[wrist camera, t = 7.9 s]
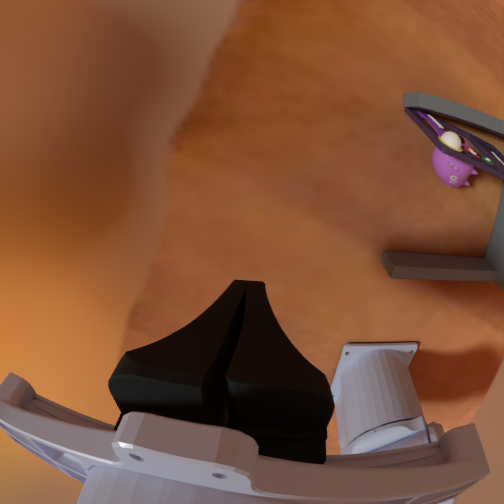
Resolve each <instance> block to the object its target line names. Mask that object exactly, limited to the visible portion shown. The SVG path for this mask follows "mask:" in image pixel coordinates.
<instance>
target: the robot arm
mask: <svg viewBox="0 0 504 504" xmlns="http://www.w3.org/2000/svg"><path fill="white" fill-rule="evenodd" d="M417 348H418V345H417V343H416V342H409V343H372V344H346V345H345V346H344V347H343V351H342V354H341V357H340V360H339V363H338V367H337V370H336V373H335V376H334V379H333V382H332V385H331V388H330V386H329V383H328V380H327V378H326V376H325V374H323V373H322V372H321V371H320V370H318V369H317V368H316V367H315V366H313V365H312V364H311V363H310V362H309V361H308V360H306V359H305V358H304V357H303V356H302V354H301V353H300V352H299V351H298V350H297V349H296V348H295V346H294V345H293V344H292V343H291V342H290V340H289V339H288V337H287V336H286V335H285V333H284V332H283V330H282V328H281V327H280V325H279V323H278V321H277V319H276V317H275V315H274V313H273V311H272V308H271V306H270V303H269V301H268V298H267V294H266V289H265V283H264V282H261V281H246V280H234V281H233V282H232V283H231V284H230V285H229V287H228V288H227V289H226V290H225V291H224V292H223V294H222V295H221V296H220V297H219V298H218V299H217V300H216V301H215V302H214V303H213V304H212V305H211V306H210V307H209V308H208V309H206V310H205V311H204V312H203V313H202V314H201V315H200V316H198V317H197V318H196V319H195V320H193V321H192V322H191V323H189V324H188V325H186V326H185V327H183V328H181V329H180V330H178V331H176V332H174V333H173V334H171V335H169V336H167V337H165V338H163V339H161V340H159V341H156V342H154V343H152V344H149V345H146V346H143V347H140V348H137V349H134V350H131V351H127V352H126V353H125V354H124V356H123V357H122V358H121V360H120V361H119V363H118V365H117V366H116V368H115V370H114V372H113V374H112V375H111V377H110V379H109V381H108V387H109V390H110V392H111V395H112V396H113V398H114V400H115V402H116V404H117V406H118V407H119V409H120V411H121V414H120V417H119V419H118V421H117V423H116V425H115V426H114V425H111V424H108V423H105V422H102V421H100V420H97V419H94V418H91V417H89V416H86V415H83V414H81V413H78V412H76V411H73V410H71V409H69V408H66V407H64V406H61V405H59V404H57V403H55V402H52V401H50V400H48V399H46V398H44V397H42V396H40V395H38V394H36V393H35V391H34V389H33V387H32V386H31V385H30V384H29V383H28V382H27V381H26V380H25V379H23V378H21V377H19V376H17V375H15V374H13V373H9V374H8V376H7V377H6V378H5V380H4V381H3V382H2V384H1V385H0V428H1V429H2V430H3V431H4V432H5V433H6V434H7V435H8V436H9V437H10V438H11V439H12V440H13V441H14V442H16V443H17V444H19V445H20V446H22V447H23V448H25V449H26V450H28V451H29V452H31V453H32V454H34V455H35V456H37V457H38V458H40V459H42V460H43V461H45V462H46V463H48V464H50V465H51V466H53V467H55V468H56V469H58V470H60V471H61V472H63V473H65V474H67V475H68V476H70V477H72V478H74V479H76V480H77V481H79V482H81V483H83V484H84V486H83V488H82V491H81V493H80V496H79V498H78V501H77V503H76V504H454V503H455V502H456V497H457V496H458V495H460V494H462V493H463V492H465V491H466V490H468V489H469V488H471V487H472V486H474V485H475V484H477V483H478V482H479V481H481V480H482V479H483V478H485V477H486V476H488V475H489V473H490V469H489V466H488V463H487V459H486V456H485V453H484V450H483V447H482V444H481V441H480V438H479V435H478V432H477V430H476V427H475V424H474V423H471V424H468V425H464V426H461V427H457V428H453V429H451V430H449V431H447V432H446V433H444V430H443V427H442V425H441V424H438V423H437V424H436V423H435V422H432V423H430V424H428V425H427V423H426V421H425V418H424V415H423V412H422V408H421V405H420V402H419V399H418V396H417V393H416V390H415V387H414V384H413V381H412V378H411V375H410V372H409V370H408V366H409V364H410V362H411V360H412V358H413V356H414V354H415V352H416V350H417ZM411 350H412V351H411ZM346 352H347V353H346ZM334 403H335V407H336V418H337V428H338V440H339V446H340V448H341V449H340V450H341V455H327V456H326V439H327V426H328V424H329V422H330V419H331V417H332V415H333V412H334Z"/></svg>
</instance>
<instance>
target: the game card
mask: <svg viewBox="0 0 504 504" xmlns="http://www.w3.org/2000/svg"><path fill="white" fill-rule="evenodd" d="M405 112H406V113H407V114H408V115H409V117H410V118H411V119H412V120H413V121H414V122H415V123H416V124H417V125H418V126H419V127H420V128H421V129H422V131H423V132H424V133H425V134H426V135H427V136H428V137H429V138H430V140H431V141H432V142H433V143H434V144H435V145H436V146H435V148H434V150H433V153H432V163H433V167H434V170H435V173H436V174H437V176H438V178H439V179H440V180H441V181H442V182H443V183H444V184H446V185H447V186H449V187H460V186H462V185H466V186H470V184H469V182H468V181H467V179H468V177H469V175H470V174H478V173H477V172H476V170H475V169H474V166H475V167H477V168H479V169H481V170H483V171H485V172H487V173H489V174H492V175H494V176H496V177H498V178H499V179H501V180H503V181H504V156H503V155H502V154H501V153H500V152H499V151H498V150H497V149H496V148H495V147H494V146H493V145H491V144H489V143H487V142H485V141H483V140H482V139H480V138H478V137H476V136H474V135H472V134H470V133H468V132H466V131H464V130H462V129H459V128H457V127H455V126H453V125H451V124H448V123H446V122H444V121H442V120H439V119H437V118H435V117H432V116H430V115H429V114H425V113H423V112H422V111H417V110H414V109H411V108H407V107H406V109H405ZM419 117H420V118H422V119H425V120H427V122H428V123H429V124H430V125H431V126H432V127H433V129H434V130H435V131H436V133H437V135H438V136H439V137H438V136H437V135H436V134H435V133H434V132H433V131H432V130H431V129H430V128H429V127H428V126H427V125H426V124H425V123H424V122H423V121H422V120H421V119H420V118H419ZM442 128H443V129H444V128H447V129H449V130H451V131H447V132H445V131H444V130H443V129H442ZM452 131H453V132H452ZM454 132H456V133H458V134H460V135H462V136H464V137H466V138H467V139H468V140H469V141H470V142H471V143H472V144H473V145H474V146H475V147H476V148H477V149H478V150H479V151H480V152H481V153H482V154H483V155H484V156H483V155H481V154H479V153H478V155H477V154H476V153H475V152H474V151H473V150H472V149H473V148H472V147H471V146H470V145H469V143H468V142H467V141H466V140H465V139H464V138H463V137H461V136H459V135H457V134H456V133H454ZM481 160H482V161H483V162H484V163H483V162H481Z"/></svg>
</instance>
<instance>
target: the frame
mask: <svg viewBox="0 0 504 504" xmlns="http://www.w3.org/2000/svg"><path fill="white" fill-rule="evenodd" d="M404 107H407V108H411V109H415V110H419V111H423V112H427V113H431V114H435V115H438V116H442V117H445V118H449V119H452V120H455V121H458V122H462V123H465V124H468V125H471V126H474V127H477V128H479V129H482V130H485V131H488V132H490V133H493V134H495V135H498V136H500V137H503V138H504V121H502V120H500V119H497V118H495V117H493V116H490V115H488V114H485V113H483V112H480V111H478V110H475V109H472V108H470V107H467V106H464V105H461V104H458V103H455V102H452V101H449V100H446V99H443V98H440V97H436V96H433V95H429V94H426V93H422V92H412V93H404ZM382 264H383V265H384V267H385V269H386V271H387V272H388V274H389V276H390V278H395V279H421V280H451V281H490V282H495V283H496V284H497V285H498V286H499V287H500V288H501V289H502V290H503V291H504V182H503V187H502V193H501V198H500V202H499V207H498V211H497V215H496V220H495V224H494V227H493V231H492V235H491V238H490V242H489V245H488V248H487V252H486V255H485V258H477V257H464V256H451V255H438V254H424V253H411V252H397V251H384V253H383V258H382Z"/></svg>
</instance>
